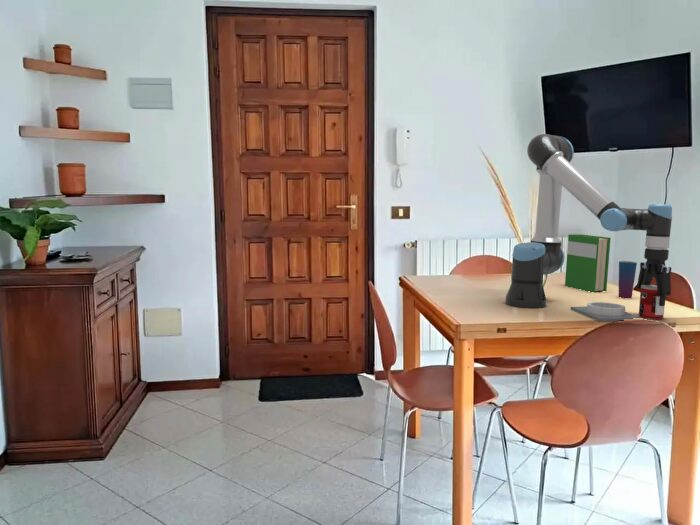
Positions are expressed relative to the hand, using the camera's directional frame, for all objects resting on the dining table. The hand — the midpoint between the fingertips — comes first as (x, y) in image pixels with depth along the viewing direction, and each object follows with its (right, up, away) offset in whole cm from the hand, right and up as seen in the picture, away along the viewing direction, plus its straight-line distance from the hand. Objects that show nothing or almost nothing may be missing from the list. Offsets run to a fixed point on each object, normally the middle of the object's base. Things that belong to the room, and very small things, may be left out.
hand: (651, 312), depth 213 cm
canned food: (0, -2, 0) cm, 2 cm away
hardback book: (-1, +5, +58) cm, 59 cm away
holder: (-15, -1, +2) cm, 16 cm away
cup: (+8, +3, +39) cm, 40 cm away
